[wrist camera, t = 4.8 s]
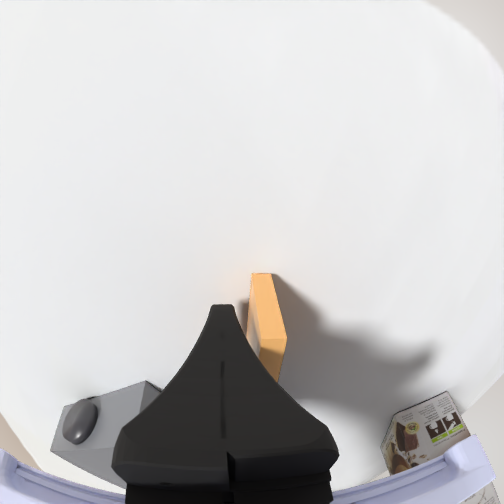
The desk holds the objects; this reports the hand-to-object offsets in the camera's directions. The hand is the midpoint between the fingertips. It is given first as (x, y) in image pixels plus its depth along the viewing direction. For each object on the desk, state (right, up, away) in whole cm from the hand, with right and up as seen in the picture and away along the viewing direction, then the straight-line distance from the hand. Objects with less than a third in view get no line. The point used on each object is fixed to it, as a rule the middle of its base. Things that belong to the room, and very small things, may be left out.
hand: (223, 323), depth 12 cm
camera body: (-7, -11, +7) cm, 15 cm away
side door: (+1, -5, +4) cm, 7 cm away
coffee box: (+18, -15, +12) cm, 26 cm away
